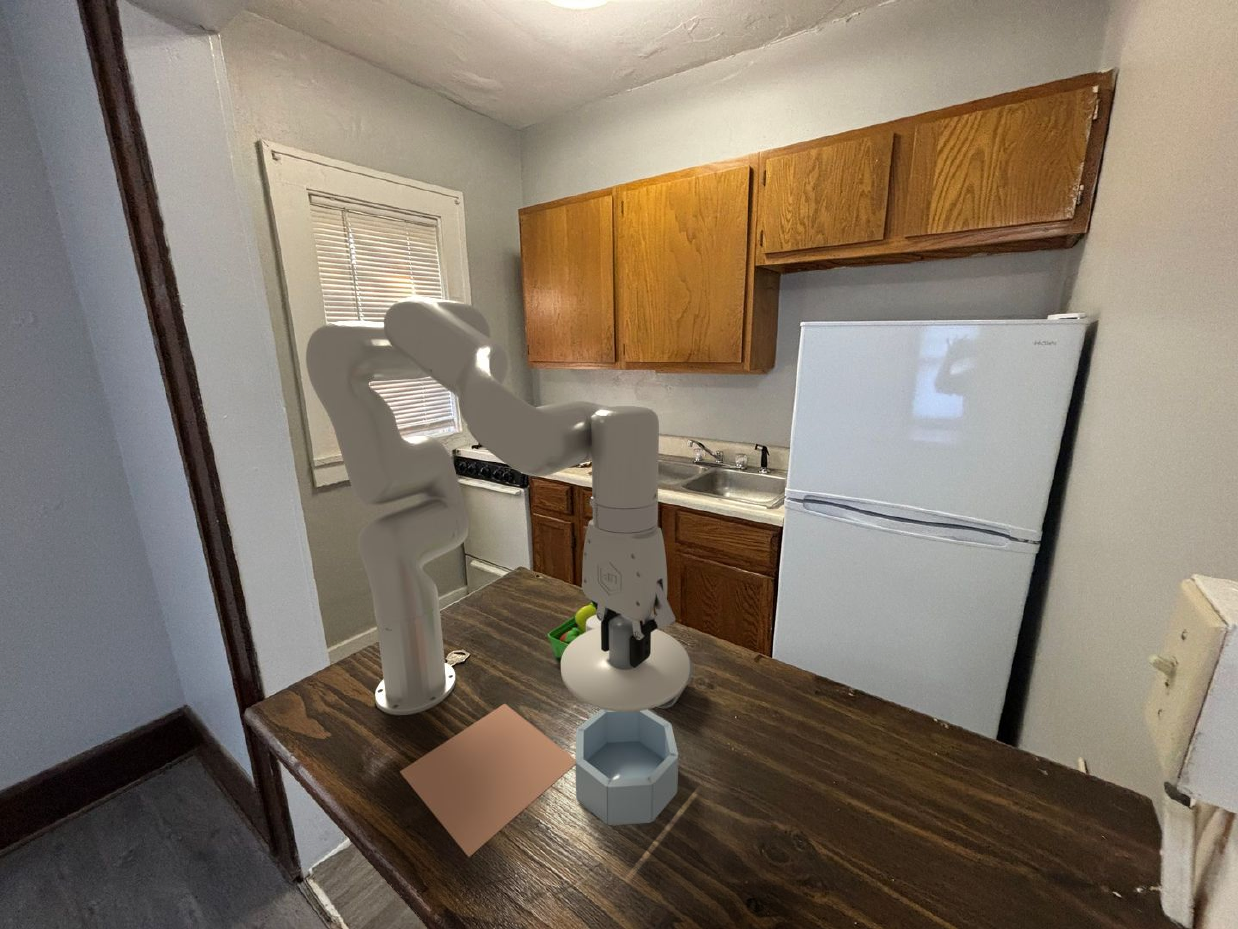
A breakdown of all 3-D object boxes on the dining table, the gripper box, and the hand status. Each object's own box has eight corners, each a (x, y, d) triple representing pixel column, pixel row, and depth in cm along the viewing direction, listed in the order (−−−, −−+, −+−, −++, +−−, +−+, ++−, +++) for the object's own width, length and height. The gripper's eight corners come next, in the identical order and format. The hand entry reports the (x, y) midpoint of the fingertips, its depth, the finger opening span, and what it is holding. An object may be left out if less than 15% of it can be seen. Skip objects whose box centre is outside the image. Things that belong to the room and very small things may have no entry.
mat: (400, 774, 64) (399, 771, 64) (504, 706, 77) (504, 703, 77) (469, 860, 53) (468, 857, 53) (578, 764, 66) (578, 761, 66)
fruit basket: (585, 631, 98) (584, 580, 95) (620, 646, 93) (620, 593, 90) (546, 659, 89) (544, 604, 86) (582, 677, 84) (581, 620, 81)
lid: (534, 669, 59) (531, 627, 57) (618, 616, 70) (618, 580, 69) (633, 735, 49) (634, 686, 47) (713, 660, 60) (715, 619, 59)
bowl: (556, 783, 63) (554, 745, 62) (620, 727, 72) (620, 693, 71) (631, 849, 55) (632, 807, 53) (693, 775, 64) (694, 738, 63)
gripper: (552, 507, 58) (557, 641, 62) (664, 541, 47) (661, 701, 51) (595, 493, 63) (597, 617, 67) (704, 522, 52) (699, 667, 57)
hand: (625, 652), depth 59 cm, fingers closed on lid, 4 cm apart
